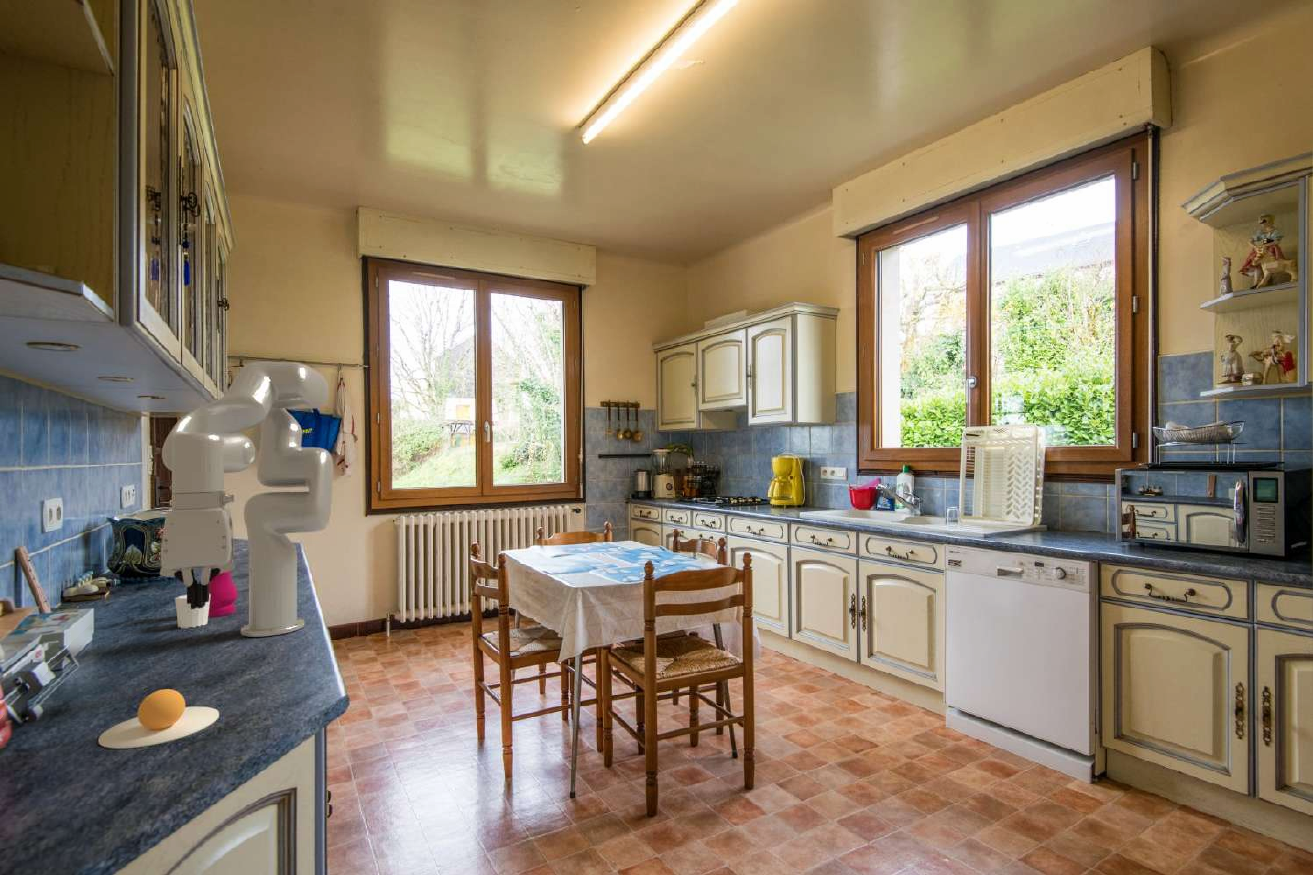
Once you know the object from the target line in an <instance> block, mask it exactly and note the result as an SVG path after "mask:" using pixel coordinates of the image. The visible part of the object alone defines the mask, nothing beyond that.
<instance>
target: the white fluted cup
mask: <svg viewBox="0 0 1313 875" xmlns="http://www.w3.org/2000/svg"><path fill="white" fill-rule="evenodd" d="M210 595H211V594H209V602H205V606H204V607H203V608H199V609H198V608H195V609H191V604H187V594H183V595H179V596H177V597H175V598H174V599H175V608H176V609H175V610H176V617H177V628H179V627H181V628H180V629H190V628H189V627H193V628H197V627H196V626H199V627H202V626H201V625H203V626H205V625H207V624H208V622H209V621H208V620H209V616H208V613H209V604H210Z"/></svg>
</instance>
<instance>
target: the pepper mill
mask: <svg viewBox="0 0 1313 875" xmlns="http://www.w3.org/2000/svg"><path fill="white" fill-rule="evenodd" d="M235 553H236V549H235V547H234V554H235ZM221 566H222V565H221ZM215 567H219V566H214V568H215ZM209 594H211V595H210V604H209V613H208V618H209V617H210V618H211V617H213V618H214V617H215V618H217V617H222V616H223V617H225V616H229V615H232V614H234V613H235V612H236V604H234V602H236V599H238V596H239V595H238V589H237V587H236V585H235V583H234V582H233V580H232V577H231V571H228V572H224V573H221V574H218V575H217V576H216V577H215V578H214V579H212V580H211V581H210V582H209Z"/></svg>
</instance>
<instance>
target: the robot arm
mask: <svg viewBox="0 0 1313 875" xmlns="http://www.w3.org/2000/svg"><path fill="white" fill-rule="evenodd" d="M329 393H330V389H329V384H328V381H327V380H326V378H325V376H323V374H322V373H320V372H319V371H317V370H316V369H314V368H313V367H310V366H309V365H307V364H304V363H301V362H298V361H297V362H296V361H254V362H250V363H248V364H246V365H244V366H243V367H242V368H241V369H240V370H239V372H238V373H237V375H236V376H235V378H234V379H233V380H232V382H231V384H230V386H229V387H228V389H227V390H226V392H225V393H224V395H223V397H221V398H218V399H216V400H213V401H211V402H208V403H206V404H204V405H201V407H198V408H196V409H194V410H192V411H190V412H188V413H187V414H185V415H183V416H182V417H180V418H179V420H178V421H177V422H176V423H175V425H174V426H173V427H172V429H171V431H170V432H169V433H168V435H167V437H166V438H165V441H164V443H163V446H162V452H161V459H162V463H163V464H164V466H165V467H166V468H167V469H168V470H169V471H171V511H170V510H169V511H167V513H166V515H165V520H164V524H163V529H162V538H161V548H160V550H161V551H160V563H161V564H160V565H161V566H160V571H159V575H160V576H162V577H168V578H176V579H177V580H178V581H180V582H181V583H182V584H183V585H184V586H185V587H186V595H187V604H191V609H195V608H198V609H199V608H203V607H204V606H205V602H209V583H210V581H211V580H212V579H214V578H215V577H216V576H217V575H218V574H221V573H224V572H228V571H230V572H231V571H233V570H234V569H235V568H236V566H235V562H234V557H235V553H234V548H235V543H234V542H235V539H234V536H235V535H234V526H233V525H234V524H233V518H232V514H231V510H230V508H225V506H226V504H229V503H234V501H235V498H234V497H235V495H234V494H227V493H226V491H225V474H231V473H232V474H233V473H239V472H240V473H241V472H243V471H245V470H247V469H249V468H250V467H251V466H252V464H253V463H254V461H255V459H256V448H255V444H254V442H253V441H252V440H251V439H250V438H249V437H248V436H246V435H244V434H241V432H243V431H245V430H246V431H247V430H249V429H252V428H255V427H257V426H259V425H260V426H259V427H260V429H261V430H260V432H261V434H260V443H259V448H258V449H259V451H258V458H257V470H256V474H257V479H258V482H259V484H261V485H262V486H264V487H267V488H275V489H276V488H280V489H281V488H282V489H283V488H289V489H291V488H308V491H269V492H268V491H267V492H262V493H258V494H255V495H253V496H251V497H250V498H248V499H247V501H246V502H245V504H244V508H243V517H244V519H243V520H244V525H245V527H246V528H245V529H246V533H247V540H248V541H247V542H248V624H246V625H244V626H242V627H241V628H240V634H241V636H244V637H252V638H256V637H257V638H260V637H262V638H263V637H270V636H271V637H272V636H277V635H283V634H287V633H292V632H294V631H298V630H300V629H302V628H304V626H305V621H306V620H304V619H303V618H301V617H300V618H299V617H298V563H297V562H298V554H297V553H298V552H297V549H296V546H295V544H293V542H292V541H291V540H290V538H289V537H288V536H287V535H286V534H294V533H295V534H296V533H297V534H299V533H300V534H301V533H315V532H320V531H321V532H322V531H323V530H325V529H326V528H327V526H328V525H329V522H330V519H331V510H332V498H333V487H334V486H333V485H334V470H335V469H334V461H333V456H332V455H331V453H330V451H328V450H327V449H325V448H322V447H313V446H311V447H304V446H303V447H302V438H303V429H302V427H301V425H300V424H299V422H298V420H296V419H295V417H294V416H293V415H292V414H290V413H289V412H288V411H287V409H319V408H322V407H324V405H326V403H327V402H328V400H329V396H330V394H329ZM239 432H240V433H239ZM221 565H222V566H221ZM214 566H219V567H215V568H214ZM200 568H202V572H201V577H200V580H199V582H198V580H197V578H196V573H195V569H200Z"/></svg>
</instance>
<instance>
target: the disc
mask: <svg viewBox="0 0 1313 875" xmlns="http://www.w3.org/2000/svg"><path fill="white" fill-rule="evenodd" d="M219 717H220V712H219V710H218V709H216V708H214V707H210V706H185V709H184V712H183V714H182V716H181V717H180V718H179V720H178V721H177V722H175V723H174V724H173V725H171V726H169V727H167V728H164V729H160V730H152V729H148V728H146V727H144V726H143V725H142V724H141V723H140V722H139V719H138V716H136V717H133V718H131V719H127V720H125V721H122V722H120V723H118V724H116V725H114V726H112V727H110V728H108V729H107V730H106V731H105V730H104V732H103V733H101V734H100V736H99V738H98V744H99V745H100V746H102V747H104V748H106V749H117V750H120V749H121V750H123V749H136V748H142V747H143V748H144V747H149V746H155V745H159V744H164V743H168V742H171V741H175V740H178V739H182V738H185V737H188V736H190V735H193V734H196V733H198V732H200V731H202V730H204V729H206V728H208V727H209V726H211V725H212V724H214V723H215V722H216V721H217V720H218V719H219Z"/></svg>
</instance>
